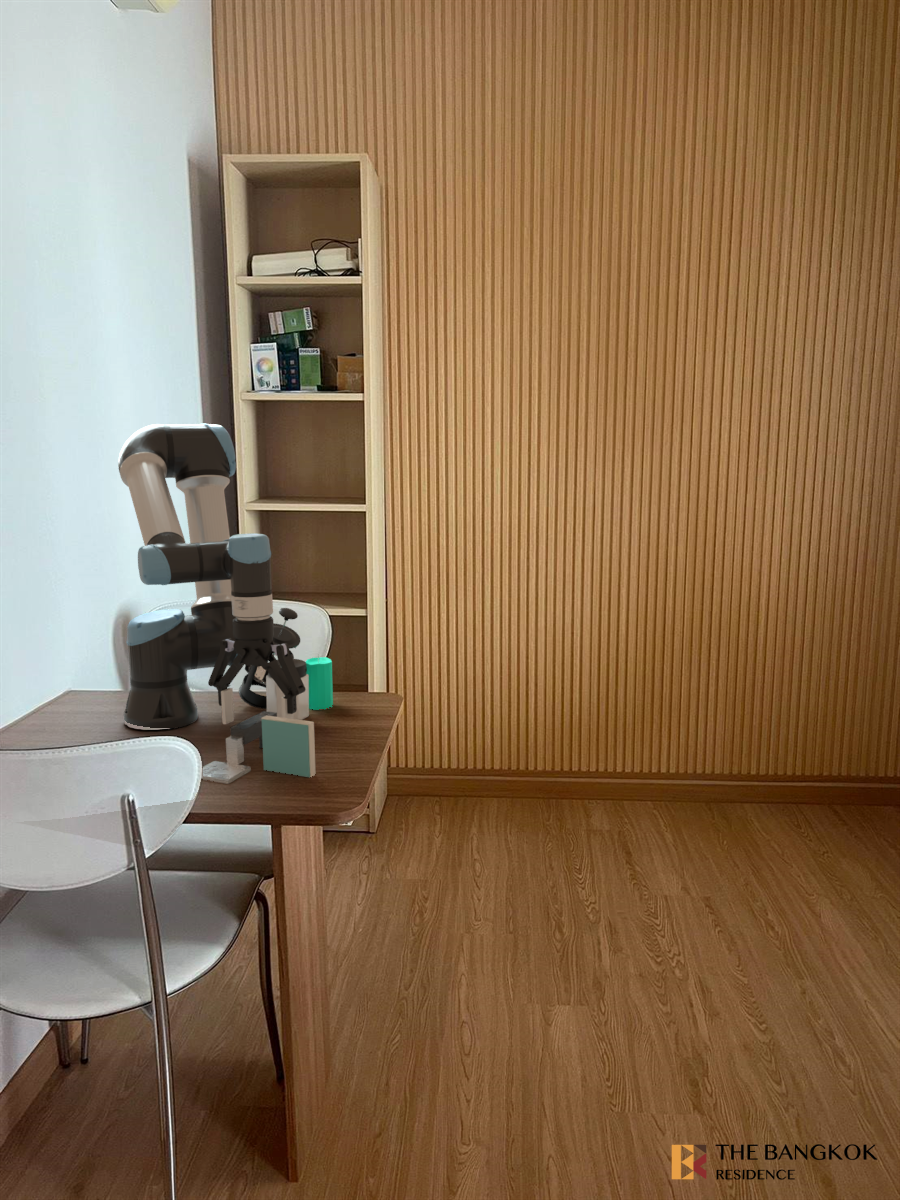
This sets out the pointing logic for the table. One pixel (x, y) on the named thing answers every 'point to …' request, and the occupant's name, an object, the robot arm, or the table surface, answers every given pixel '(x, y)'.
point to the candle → (320, 682)
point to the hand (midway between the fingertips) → (258, 726)
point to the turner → (236, 750)
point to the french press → (280, 637)
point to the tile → (288, 746)
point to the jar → (276, 694)
